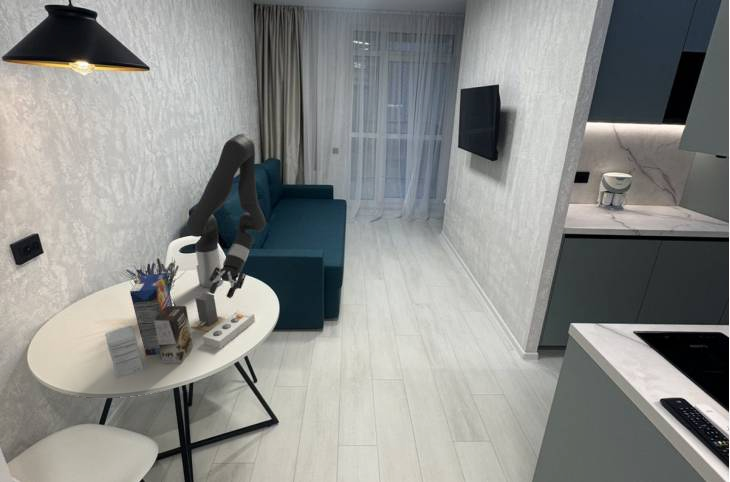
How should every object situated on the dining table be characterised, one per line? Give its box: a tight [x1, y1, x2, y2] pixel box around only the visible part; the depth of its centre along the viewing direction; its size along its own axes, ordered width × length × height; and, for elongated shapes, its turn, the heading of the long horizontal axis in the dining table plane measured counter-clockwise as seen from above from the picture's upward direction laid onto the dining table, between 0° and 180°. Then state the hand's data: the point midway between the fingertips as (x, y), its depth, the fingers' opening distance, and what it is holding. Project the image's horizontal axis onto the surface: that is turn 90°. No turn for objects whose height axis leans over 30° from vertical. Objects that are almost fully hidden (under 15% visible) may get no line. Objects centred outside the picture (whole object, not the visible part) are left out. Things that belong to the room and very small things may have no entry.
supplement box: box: [105, 325, 144, 378], centre depth 119 cm, size 7×7×13 cm
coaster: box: [190, 315, 227, 333], centre depth 145 cm, size 9×9×1 cm
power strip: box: [202, 309, 256, 349], centre depth 139 cm, size 8×18×4 cm, turn 158°
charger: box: [195, 292, 218, 327], centre depth 142 cm, size 4×7×11 cm
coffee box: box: [154, 305, 194, 365], centre depth 124 cm, size 9×6×16 cm
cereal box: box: [129, 272, 173, 357], centre depth 129 cm, size 12×8×24 cm, turn 13°
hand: (220, 295), depth 149 cm, fingers open, 8 cm apart
